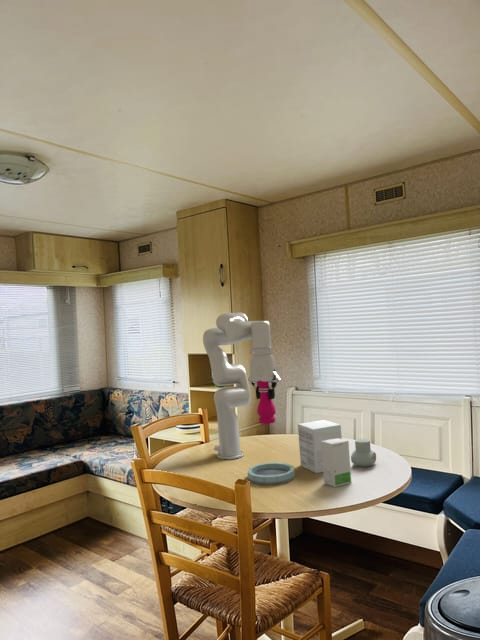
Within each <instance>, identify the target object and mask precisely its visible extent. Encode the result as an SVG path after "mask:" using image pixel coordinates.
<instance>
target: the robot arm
mask: <svg viewBox="0 0 480 640" xmlns="http://www.w3.org/2000/svg"><path fill="white" fill-rule="evenodd" d="M248 319H249V318H248V316H247V315H246V314H245V313H244V312H242V311H241V312H240V311H239V312H226V313H221V314H219V315H218V316H217V317H216V319H215V325H216V327H213V328H212V327H211V328H209V329H206V330H204V332H203V335H202V343H203V347H204V350H205V353H206V354H207V356H208V359H209V364H210V369H211V374H212V380H213V382H214V384H215V385H216V386H229V385H230V386H231V385H236V386H231V387H222V388H219V389H217V390H216V391H215V392H214V394H213V402H214V406H215V410H216V415H217V416H216V418H217V430H218V443H219V445H215V446H214V447H213V451H216V452H217V454H216V457H217V459H219V460H224V459H225V460H226V459H227V460H236V459H237V460H238V459H239V458H243V456H244V455H245V453H244V452H245V451H243V450H241V441H240V428H239V417H238V414H237V413H236V412H235V411H234V410H233V409H234V408H238V407H246V406H249V404H251V401H252V395H251V394H252V393H251V389H250V388H251V387H250V384H251V385H252V386H253V389H254V390H255V397H256V400H259V399H260V392H259V386H258V385H257V382H258V381H260V380H261V381H263V382H268V385H269V388H270V389H268V393H269V399H270V400H274V399H275V398H276V394H275V392H276V391H275V389H276V387H277V386H278V384H280V382H281V381H282V379H281V378H280V376H279V375H278V372H277V364H276V360H275V356H274V354H273V352H272V349H273V348H272V337H271V324H270V322H269V321H268V320H250V321H249V320H248ZM249 340H250V341H251V349H250V353H251V354H252V356H251V357H250V364H249V377H248V375H247V370H246V368H245V367H244V365H242V364H240V363H230V362H229V358H228V355H227V353H226V352H225V351H224V350H223V349H222V348H221V347H220V346H227V345H228V346H229V345H230V346H232V345H236V344H239V343H240V342H241V341H249ZM271 382H272V384H271ZM249 383H250V384H249Z"/></svg>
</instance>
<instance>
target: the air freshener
mask: <svg viewBox="0 0 480 640" xmlns="http://www.w3.org/2000/svg"><path fill="white" fill-rule="evenodd" d="M354 443H355V444H354V446H355V450H353V452H351V455H350V462H351V463H352V464H353V465H354V466H357V467H360V468H368V467H369V466H370V467H372V466H373V465H375V464H376V461H377V453H376V452H375V451H373V450H372V449H371V441H370V440H369V439H367V438H358V439H355V441H354Z"/></svg>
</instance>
